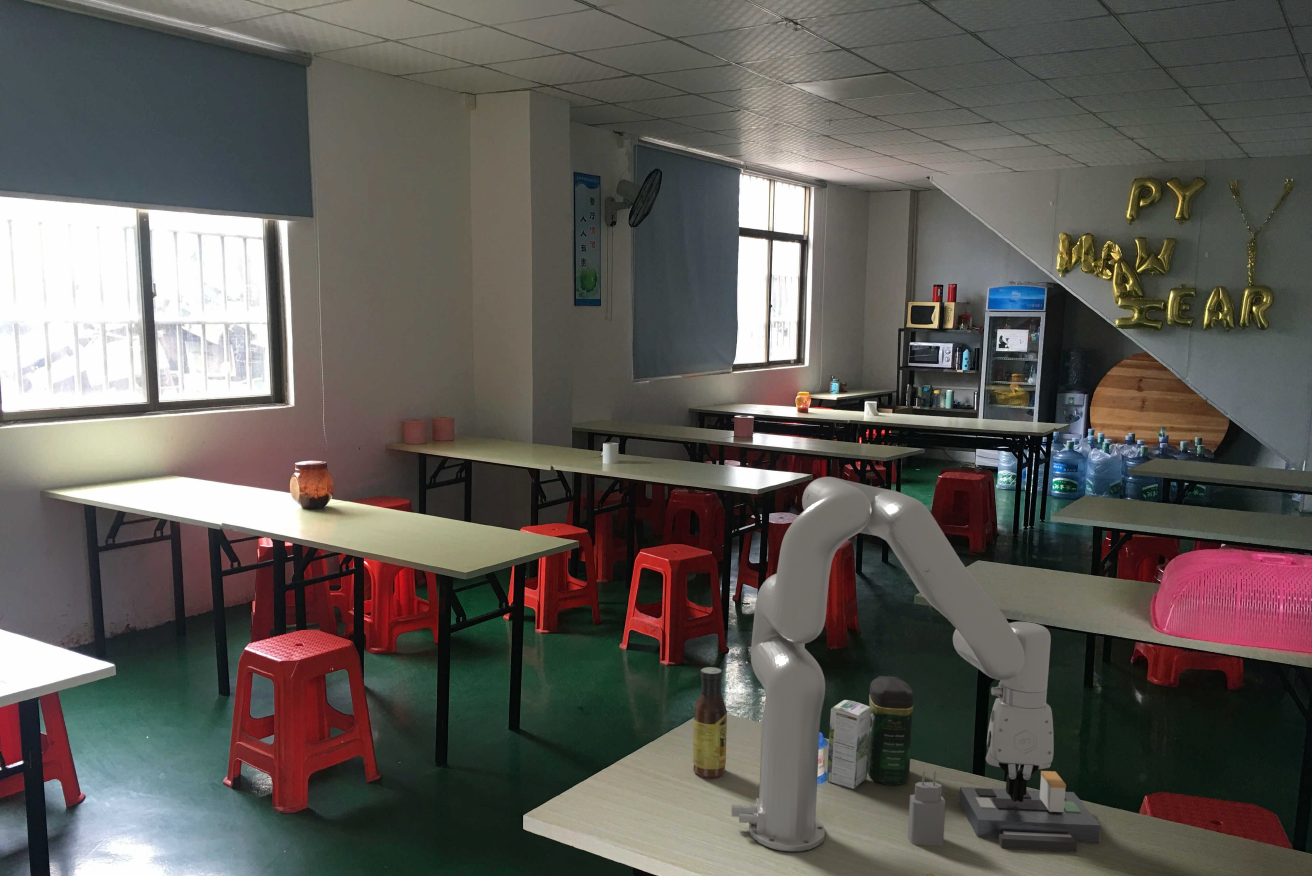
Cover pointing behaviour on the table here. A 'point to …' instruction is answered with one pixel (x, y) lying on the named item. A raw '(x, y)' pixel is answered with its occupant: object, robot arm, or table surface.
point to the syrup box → (848, 744)
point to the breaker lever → (1052, 791)
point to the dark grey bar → (1037, 841)
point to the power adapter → (927, 814)
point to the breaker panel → (1026, 814)
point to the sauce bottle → (710, 726)
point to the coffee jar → (890, 730)
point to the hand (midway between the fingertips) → (1015, 797)
